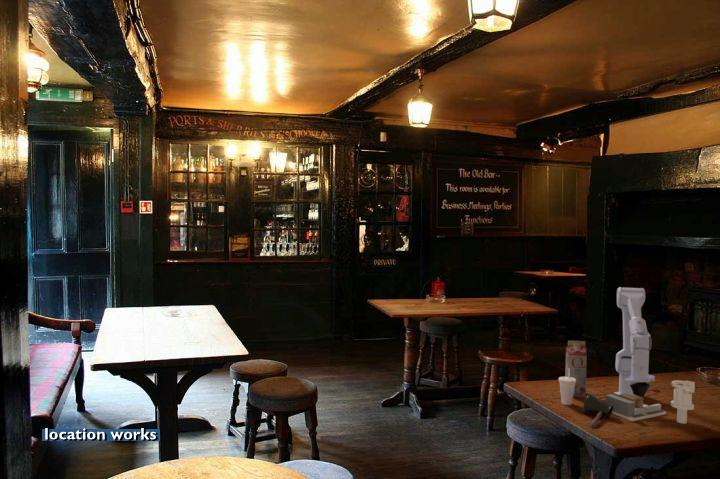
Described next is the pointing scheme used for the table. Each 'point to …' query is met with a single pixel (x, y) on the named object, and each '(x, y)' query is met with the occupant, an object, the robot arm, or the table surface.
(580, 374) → the juice carton
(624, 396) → the gauge slider
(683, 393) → the white stepped post
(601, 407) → the coffee pot
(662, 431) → the table surface
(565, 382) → the smoothie
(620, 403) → the gauge base
